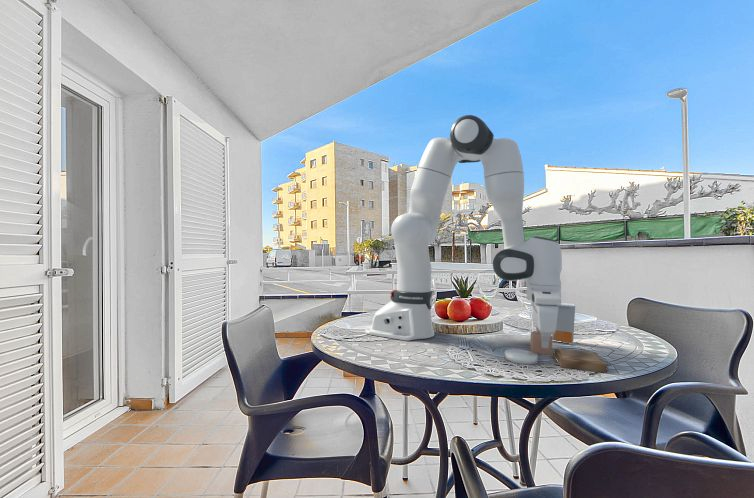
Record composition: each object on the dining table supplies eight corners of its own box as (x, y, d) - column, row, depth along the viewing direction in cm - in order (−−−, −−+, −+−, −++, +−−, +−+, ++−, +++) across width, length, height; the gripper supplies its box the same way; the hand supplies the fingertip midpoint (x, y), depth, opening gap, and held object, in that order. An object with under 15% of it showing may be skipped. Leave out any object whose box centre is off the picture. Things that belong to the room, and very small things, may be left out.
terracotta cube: (532, 353, 103) (532, 335, 103) (530, 348, 108) (530, 331, 108) (551, 355, 102) (552, 337, 102) (549, 350, 107) (549, 333, 107)
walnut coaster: (560, 367, 92) (560, 358, 92) (554, 355, 101) (554, 347, 101) (606, 372, 89) (606, 363, 89) (595, 360, 98) (595, 351, 98)
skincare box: (551, 342, 116) (553, 303, 115) (552, 339, 119) (553, 302, 119) (573, 345, 113) (575, 305, 113) (573, 342, 117) (575, 304, 116)
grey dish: (505, 361, 95) (505, 356, 95) (504, 353, 102) (504, 347, 102) (539, 365, 92) (539, 359, 92) (535, 356, 100) (535, 351, 100)
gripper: (527, 289, 116) (526, 333, 116) (535, 298, 96) (534, 351, 96) (550, 290, 114) (548, 335, 114) (562, 300, 94) (561, 354, 94)
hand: (542, 343), depth 105 cm, fingers open, 8 cm apart
